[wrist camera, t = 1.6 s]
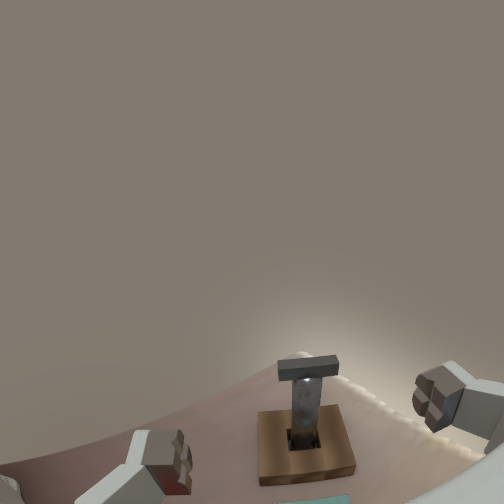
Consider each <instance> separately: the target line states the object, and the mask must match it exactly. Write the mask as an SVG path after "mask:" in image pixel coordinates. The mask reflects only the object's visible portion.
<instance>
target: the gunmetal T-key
mask: <svg viewBox="0 0 504 504" xmlns="http://www.w3.org/2000/svg"><path fill="white" fill-rule="evenodd" d="M338 369H339V361H338V359H337V357H336V355H330V356H320V357H311V358H300V359H289V360H278V378H279V381H289V380H292V421H291V448H290V451H300V450H309V449H314V447H315V440H316V432H317V424H318V416H319V407H320V398H321V388H322V378H323V377H327V376H335V375H338Z"/></svg>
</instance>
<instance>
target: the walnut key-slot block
mask: <svg viewBox="0 0 504 504" xmlns="http://www.w3.org/2000/svg"><path fill="white" fill-rule="evenodd" d="M291 421H292V410H280V411H265V412H258V452H259V482H260V486H272V485H286V484H297V483H306V482H314V481H321V480H328V479H334V478H340V477H345V476H350V475H353V473H354V470H355V467H356V462H355V458H354V455H353V452H352V448H351V445H350V442H349V439H348V435H347V432H346V429H345V426H344V423H343V420H342V416H341V413H340V410H339V407H338V404H335V405H328V406H320V407H319V416H318V424H317V432H316V444H317V449H309V450H300V451H290V452H289V449H288V440H291Z"/></svg>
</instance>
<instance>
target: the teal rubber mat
mask: <svg viewBox="0 0 504 504" xmlns="http://www.w3.org/2000/svg"><path fill="white" fill-rule="evenodd" d="M279 504H350V502H349V498H348V494H346V495H341V496H336V497H330V498H324V499H317V500H310V501H301V502H291V503H279Z"/></svg>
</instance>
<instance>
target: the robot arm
mask: <svg viewBox="0 0 504 504" xmlns="http://www.w3.org/2000/svg"><path fill="white" fill-rule="evenodd" d="M415 384H416V385H417V389H416V390H415V391H414V393H413V398H412V402H413V407H414V409H415V411H416V412H417V413H418V415H419V416H422V417H425V423H426V425H427V426H428V427H429V428H430V430H431V431H432V432H433V433H435V432H437V431H439V430H442V429H443V428H445V427H447V426H449V425H451V424H452V426H454V427H457V428H459V429H462V430H464V431H467V432H469V433H472V434H474V435H477V436H480V437H482V438H485V439H487V440H489V442H488V444H487V446H486V448H485V450H484V453H485V454H486V456H484V457H483V458H482V459H480V460H479V461H477V462H476V463H474V464H473V465H471V466H470V467H468V468H467V469H465V470H464V471H462V472H461V473H459V474H457V475H456V476H454V477H452V478H451V479H449V480H447V481H446V482H444V483H442V484H440V485H439V486H437V487H435V488H433V489H431V490H429V491H427V492H426V493H424V494H422V495H420V496H418V497H416V498H414V499H412V500H409V501H407V502H405V503H403V504H504V383H498V382H493V381H488V380H482V379H479V380H476V379H475V378H473V377H472V376H471V375H470V374H469V373H467V372H466V371H465V370H464V369H463V368H461V367H460V366H458V364H456V363H455V362H454V361H448V362H446V363H444V364H442V365H440V366H437V367H435V368H433V369H431V370H428V371H426V372H424V373H421V374H419V375H418V377H417V378H416V382H415ZM192 464H193V463H192V455H191V451H190V449H189V446H188V445H187V444H185V443H184V435H183V433H182V431H181V430H179V429H174V430H136V431H135V432H134V435H133V438H132V441H131V445H130V448H129V452H128V455H127V459H126V462H125V464H121V465H119V466H118V467H117V468H116V469H115V470H113V471H112V472H111V473H110V474H108V475H107V476H106V477H105V478H103V479H102V480H101V481H100V482H98V483H97V484H96V485H94V486H93V487H92V488H91V489H89V490H88V491H87V492H85V493H84V494H83V495H81V496H80V497H79V498H77V499H76V500H75V503H74V504H161V503H162V501H163V500H164V499H165V498H166V495H191V485H192V479H191V477H190V475H189V473H190V472H191V470H192ZM0 504H25V503H24V501H23V500H22V497H21V492H20V485H19V483H18V482H17V481H15V480H14V479H12V478H9V477H6V476H3V475H0Z"/></svg>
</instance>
